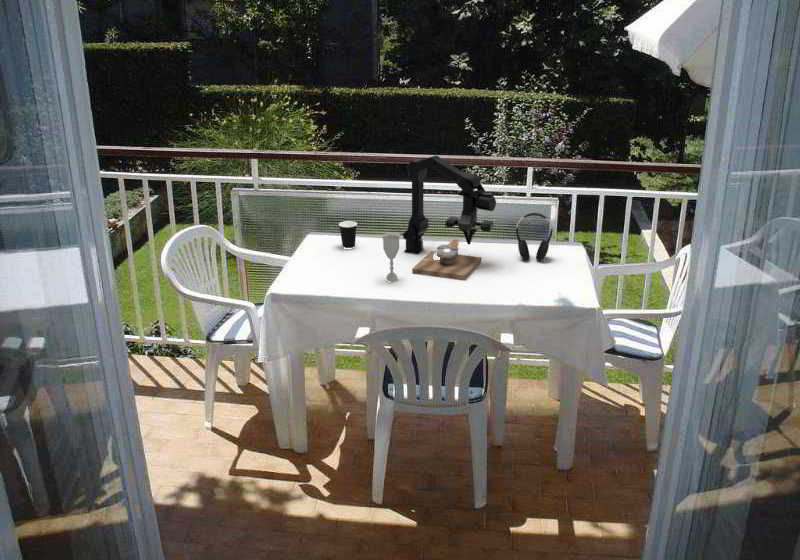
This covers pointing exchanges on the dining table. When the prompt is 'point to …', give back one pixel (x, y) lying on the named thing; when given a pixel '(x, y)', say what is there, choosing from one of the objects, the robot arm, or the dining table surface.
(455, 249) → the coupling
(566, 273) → the dining table surface
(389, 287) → the dining table surface
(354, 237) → the dixie cup
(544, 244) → the headphones
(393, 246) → the chalice
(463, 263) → the wooden cutting board
